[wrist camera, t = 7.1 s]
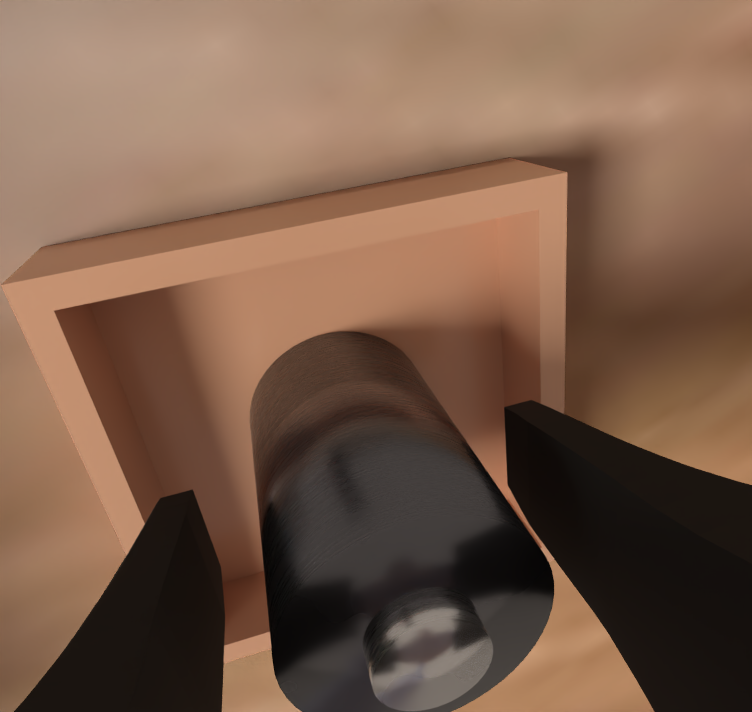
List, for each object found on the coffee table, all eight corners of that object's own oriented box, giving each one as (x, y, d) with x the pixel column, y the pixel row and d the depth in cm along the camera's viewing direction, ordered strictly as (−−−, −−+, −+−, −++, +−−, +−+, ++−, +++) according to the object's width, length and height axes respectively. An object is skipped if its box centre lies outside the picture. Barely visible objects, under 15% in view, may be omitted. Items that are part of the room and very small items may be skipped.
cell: (437, 452, 16) (582, 699, 9) (280, 507, 15) (325, 804, 9) (405, 308, 14) (566, 501, 7) (223, 365, 13) (229, 624, 7)
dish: (520, 499, 18) (562, 557, 16) (186, 596, 16) (182, 676, 14) (509, 157, 13) (567, 171, 11) (41, 247, 12) (1, 285, 9)
